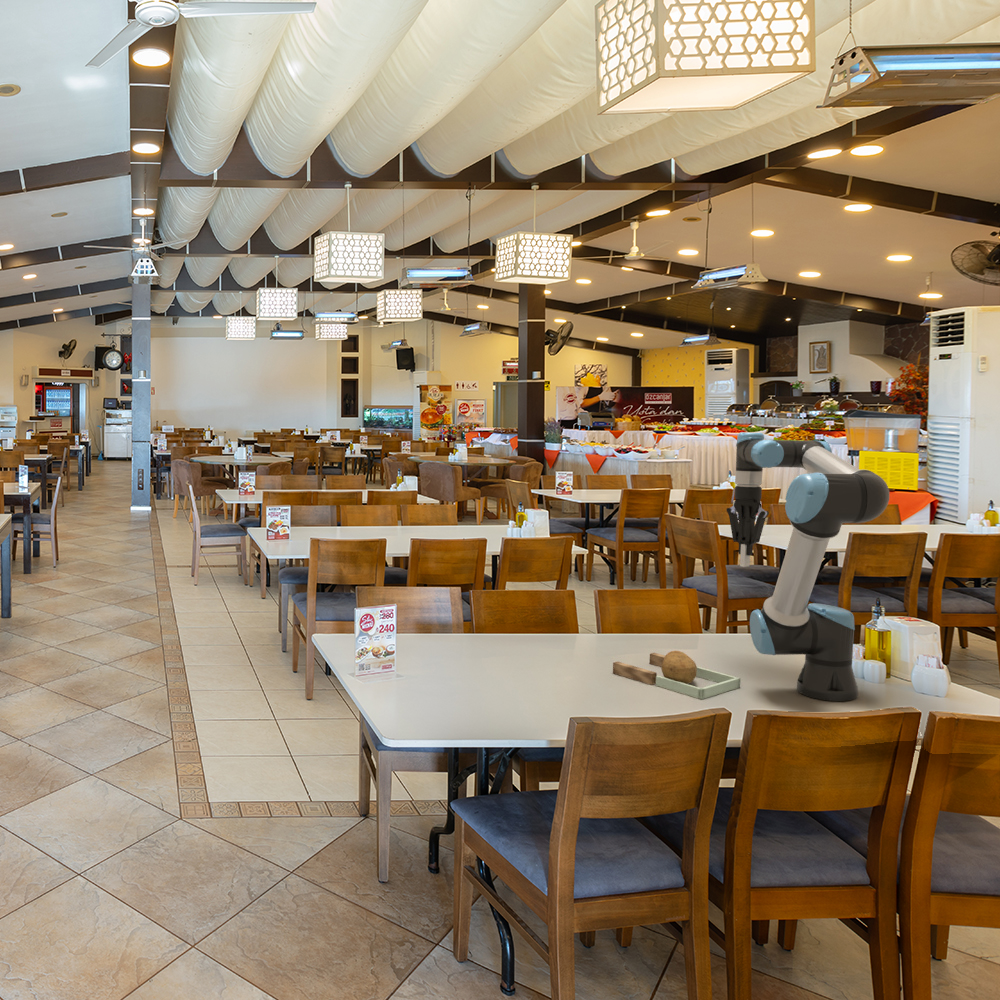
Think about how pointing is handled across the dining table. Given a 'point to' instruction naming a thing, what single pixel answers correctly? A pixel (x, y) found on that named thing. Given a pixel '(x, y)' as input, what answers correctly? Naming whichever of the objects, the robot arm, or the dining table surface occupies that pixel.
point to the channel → (639, 670)
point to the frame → (722, 686)
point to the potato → (679, 667)
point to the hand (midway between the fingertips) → (744, 566)
